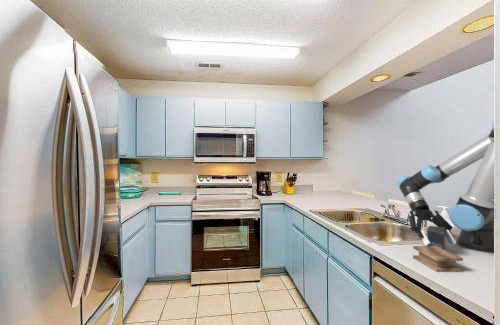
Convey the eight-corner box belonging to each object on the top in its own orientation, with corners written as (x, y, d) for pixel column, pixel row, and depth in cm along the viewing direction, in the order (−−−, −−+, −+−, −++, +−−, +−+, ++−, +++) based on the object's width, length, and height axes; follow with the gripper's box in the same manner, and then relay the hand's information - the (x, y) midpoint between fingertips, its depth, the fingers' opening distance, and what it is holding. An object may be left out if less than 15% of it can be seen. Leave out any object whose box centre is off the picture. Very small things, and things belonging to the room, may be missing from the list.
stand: (436, 257, 106) (436, 245, 106) (462, 271, 93) (462, 258, 93) (413, 257, 106) (413, 246, 106) (436, 271, 93) (436, 258, 93)
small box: (428, 246, 119) (428, 225, 119) (445, 250, 115) (445, 227, 115) (426, 253, 111) (426, 230, 111) (444, 257, 107) (445, 232, 107)
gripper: (435, 207, 128) (461, 248, 113) (390, 207, 128) (410, 248, 113) (444, 198, 123) (472, 240, 108) (397, 198, 122) (419, 240, 107)
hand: (440, 244), depth 110 cm, fingers closed on small box, 11 cm apart
